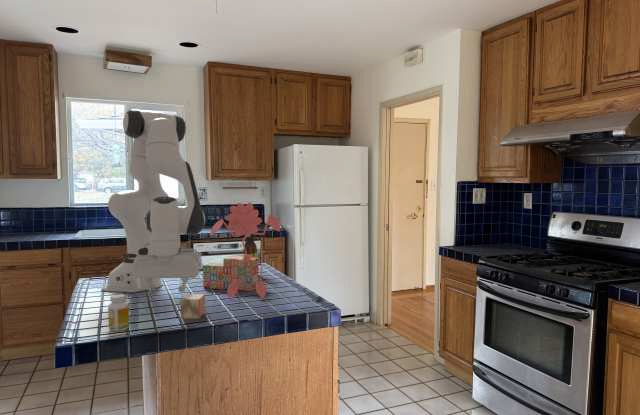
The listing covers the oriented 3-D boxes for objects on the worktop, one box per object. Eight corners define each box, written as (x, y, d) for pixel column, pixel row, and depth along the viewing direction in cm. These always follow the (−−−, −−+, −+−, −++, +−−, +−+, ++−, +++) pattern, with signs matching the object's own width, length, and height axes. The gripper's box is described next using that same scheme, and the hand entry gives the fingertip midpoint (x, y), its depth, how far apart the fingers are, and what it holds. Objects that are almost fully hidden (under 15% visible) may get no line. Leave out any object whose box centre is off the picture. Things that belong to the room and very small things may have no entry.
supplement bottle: (131, 325, 133) (130, 293, 133) (126, 331, 128) (125, 297, 127) (112, 326, 133) (111, 293, 132) (106, 332, 127) (105, 298, 127)
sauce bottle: (254, 273, 204) (254, 230, 202) (260, 276, 199) (260, 231, 197) (241, 275, 200) (240, 231, 199) (247, 277, 195) (246, 232, 194)
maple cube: (180, 299, 139) (199, 299, 139) (186, 294, 145) (205, 294, 145) (181, 318, 140) (200, 318, 140) (187, 312, 146) (205, 312, 146)
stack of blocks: (202, 288, 178) (202, 257, 177) (210, 284, 184) (209, 254, 183) (252, 291, 173) (252, 259, 172) (258, 287, 179) (258, 256, 178)
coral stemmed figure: (215, 294, 168) (213, 201, 165) (283, 295, 166) (282, 201, 163) (202, 306, 153) (199, 204, 150) (276, 308, 151) (275, 204, 148)
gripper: (201, 246, 144) (202, 288, 145) (138, 246, 145) (140, 289, 146) (195, 249, 138) (196, 293, 139) (129, 250, 139) (131, 294, 140)
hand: (167, 291), depth 142 cm, fingers open, 8 cm apart
